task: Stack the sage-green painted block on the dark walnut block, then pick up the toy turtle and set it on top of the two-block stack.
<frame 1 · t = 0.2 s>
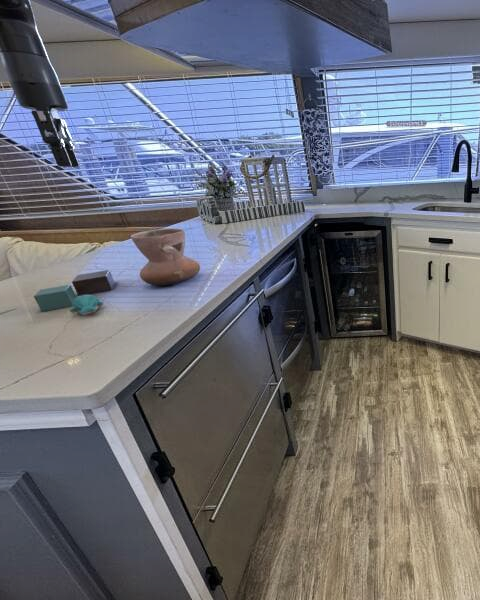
hand: (69, 166, 74), 31 cm above the worktop, tool pointing down, fingers open, 8 cm apart
toy turtle: (89, 313, 75), on the worktop
green block: (60, 305, 79), on the worktop
ceramic jug: (174, 280, 94), on the worktop
walnut block: (97, 289, 89), on the worktop
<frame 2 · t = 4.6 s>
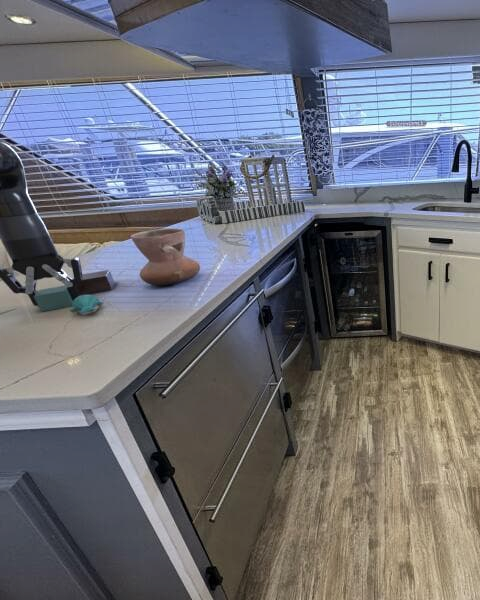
hand: (59, 303, 79), 1 cm above the worktop, tool pointing down, fingers closed on green block, 5 cm apart
green block: (60, 305, 79), on the worktop, touching gripper
everything else where it was.
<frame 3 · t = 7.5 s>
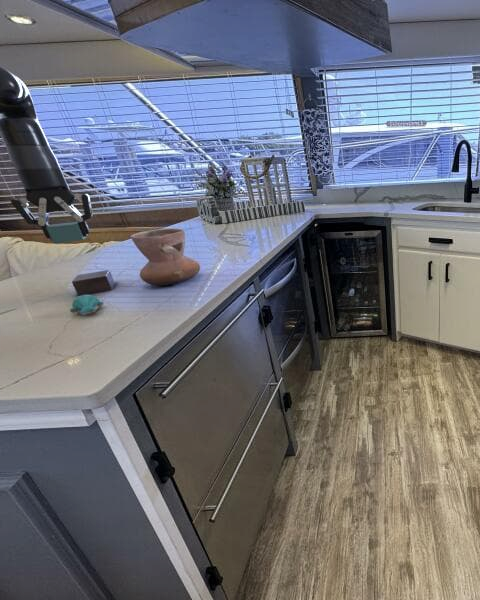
hand: (70, 237, 82), 15 cm above the worktop, tool pointing down, fingers closed on green block, 5 cm apart
green block: (71, 239, 83), point 14 cm above the worktop, touching gripper
everything else where it was.
when the fingers open (5 cm above the worktop, at t = 10.3 s): green block stays where it is, resting on walnut block.
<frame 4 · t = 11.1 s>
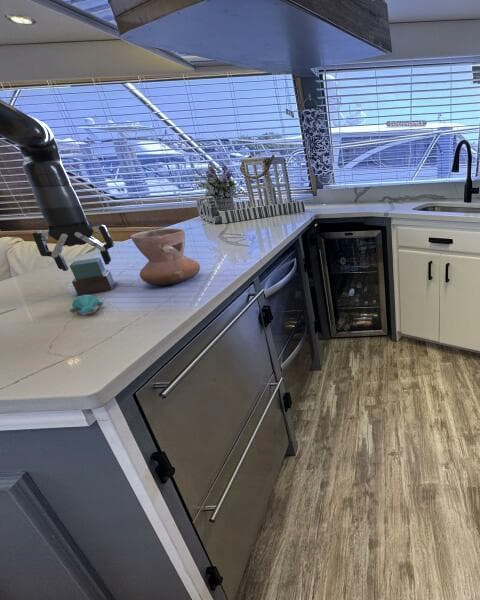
hand: (87, 267, 87), 6 cm above the worktop, tool pointing down, fingers open, 8 cm apart
green block: (91, 275, 88), point 4 cm above the worktop, touching walnut block
walnut block: (97, 289, 89), on the worktop, touching green block
everything else where it was.
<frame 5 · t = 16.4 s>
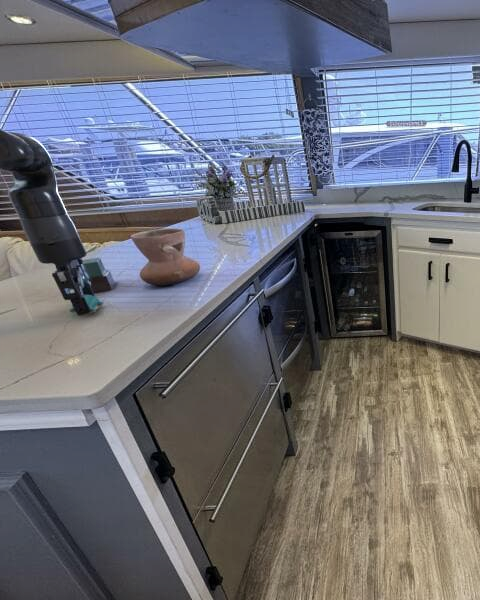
hand: (87, 307, 74), 1 cm above the worktop, tool pointing down, fingers closed on toy turtle, 7 cm apart
toy turtle: (89, 313, 75), on the worktop, touching gripper
everything else where it was.
when the fingers open (9 cm above the worktop, at t = 22.8 s): toy turtle stays where it is, resting on green block.
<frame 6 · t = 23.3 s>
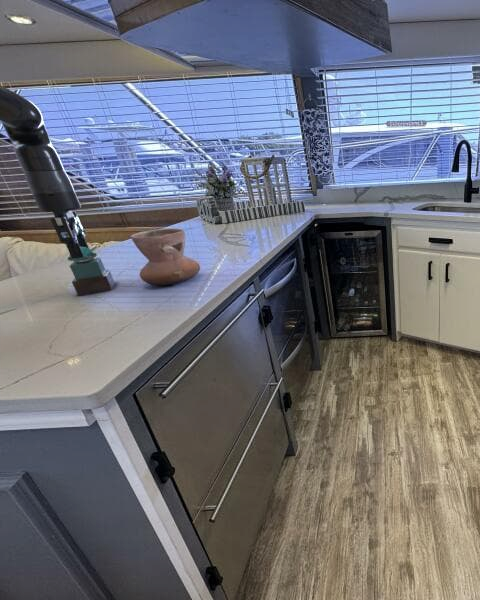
hand: (81, 254, 85), 10 cm above the worktop, tool pointing down, fingers open, 8 cm apart
toy turtle: (84, 262, 86), point 8 cm above the worktop, touching green block
green block: (91, 275, 88), point 4 cm above the worktop, touching walnut block, toy turtle
everything else where it was.
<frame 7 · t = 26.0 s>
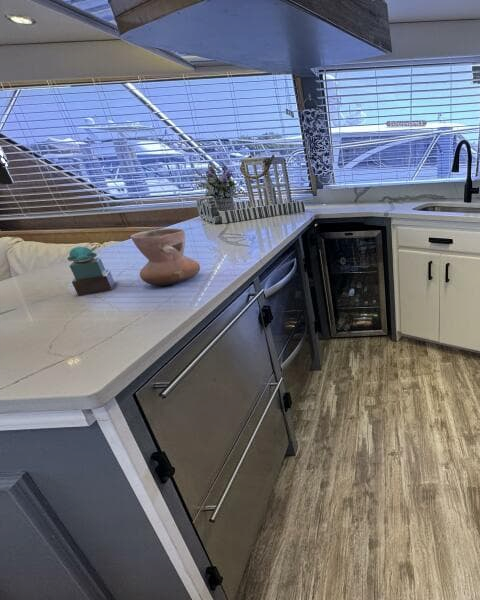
hand: (0, 185, 71), 28 cm above the worktop, tool pointing down, fingers open, 8 cm apart
nothing on the worktop moved.
at the end: green block 0.0 cm off-centre on the walnut block, point 4.0 cm above the walnut block's base; green block tilted 0°; toy turtle 0.1 cm off-centre on the walnut block, point 7.8 cm above the walnut block's base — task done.
